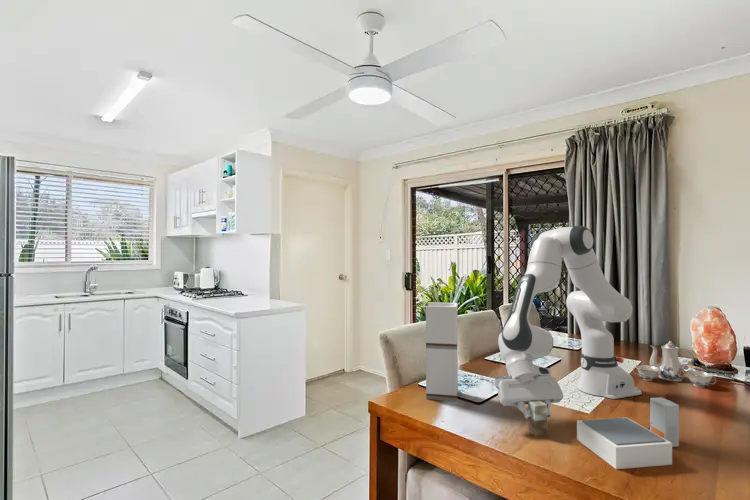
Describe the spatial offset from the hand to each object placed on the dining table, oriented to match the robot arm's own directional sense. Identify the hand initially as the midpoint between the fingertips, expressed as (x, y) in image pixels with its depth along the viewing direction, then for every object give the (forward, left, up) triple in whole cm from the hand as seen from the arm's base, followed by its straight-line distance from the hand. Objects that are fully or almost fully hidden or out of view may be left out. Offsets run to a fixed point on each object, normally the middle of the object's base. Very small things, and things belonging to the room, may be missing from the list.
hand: (538, 417), depth 123 cm
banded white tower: (+20, -35, -5) cm, 40 cm away
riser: (-17, +13, -5) cm, 22 cm away
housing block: (0, -1, -5) cm, 5 cm away
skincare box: (-33, +10, -5) cm, 35 cm away
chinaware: (-81, -37, -5) cm, 89 cm away
